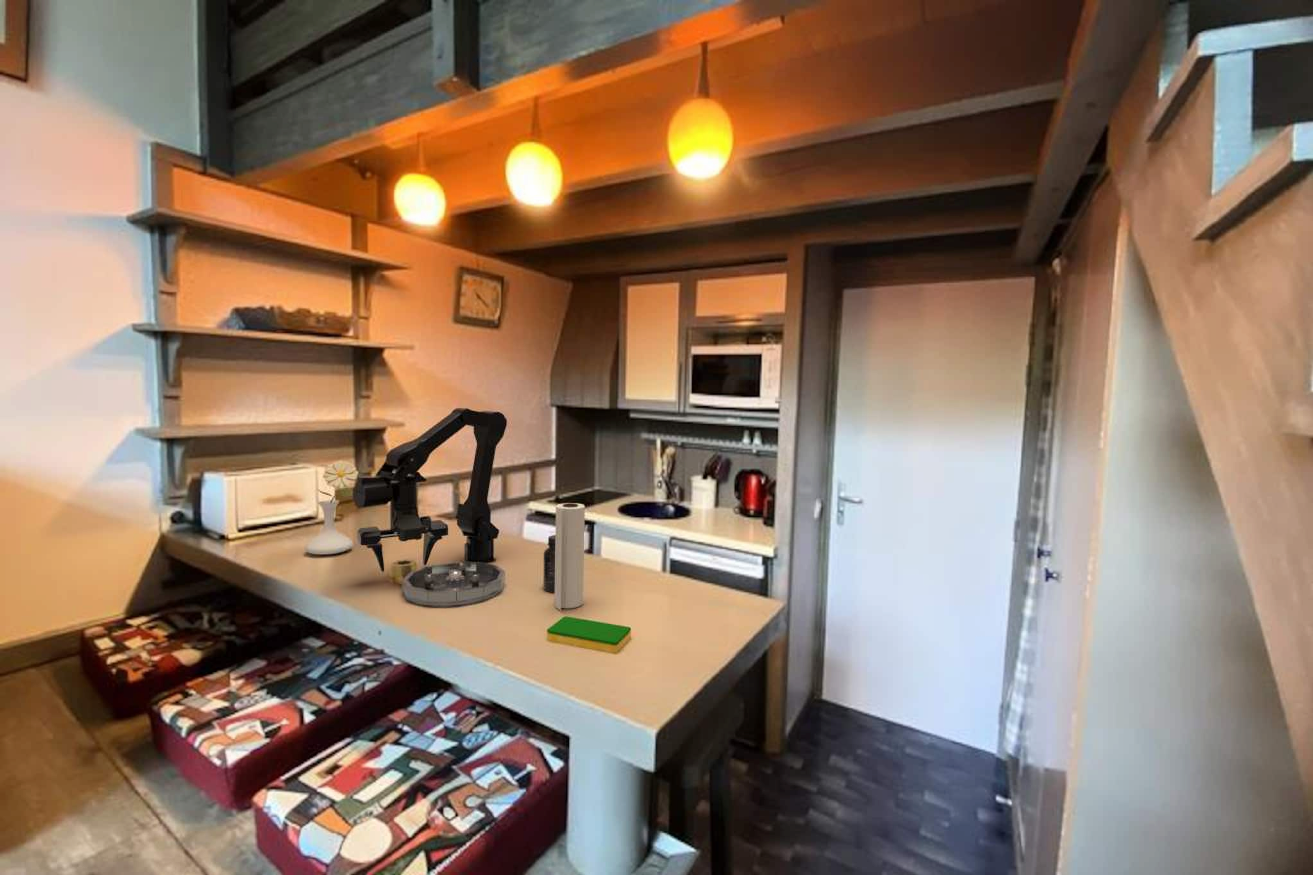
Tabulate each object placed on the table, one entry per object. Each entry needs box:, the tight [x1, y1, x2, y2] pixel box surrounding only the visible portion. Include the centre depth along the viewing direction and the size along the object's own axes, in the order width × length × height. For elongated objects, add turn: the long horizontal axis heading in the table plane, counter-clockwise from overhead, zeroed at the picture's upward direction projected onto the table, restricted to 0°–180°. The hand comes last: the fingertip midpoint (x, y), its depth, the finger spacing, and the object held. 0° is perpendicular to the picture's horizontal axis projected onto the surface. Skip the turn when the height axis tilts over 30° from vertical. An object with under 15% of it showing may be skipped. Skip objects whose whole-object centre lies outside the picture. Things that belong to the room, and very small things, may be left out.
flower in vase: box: [304, 460, 359, 556], centre depth 150 cm, size 13×11×25 cm
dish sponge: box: [546, 616, 632, 654], centre depth 102 cm, size 7×14×2 cm, turn 71°
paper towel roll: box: [553, 502, 586, 613], centre depth 118 cm, size 7×6×21 cm
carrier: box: [401, 561, 506, 608], centre depth 125 cm, size 21×21×4 cm
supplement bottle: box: [542, 534, 556, 594], centre depth 128 cm, size 7×7×12 cm
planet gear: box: [388, 558, 417, 585], centre depth 131 cm, size 6×6×4 cm
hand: (404, 568), depth 131 cm, fingers open, 9 cm apart
